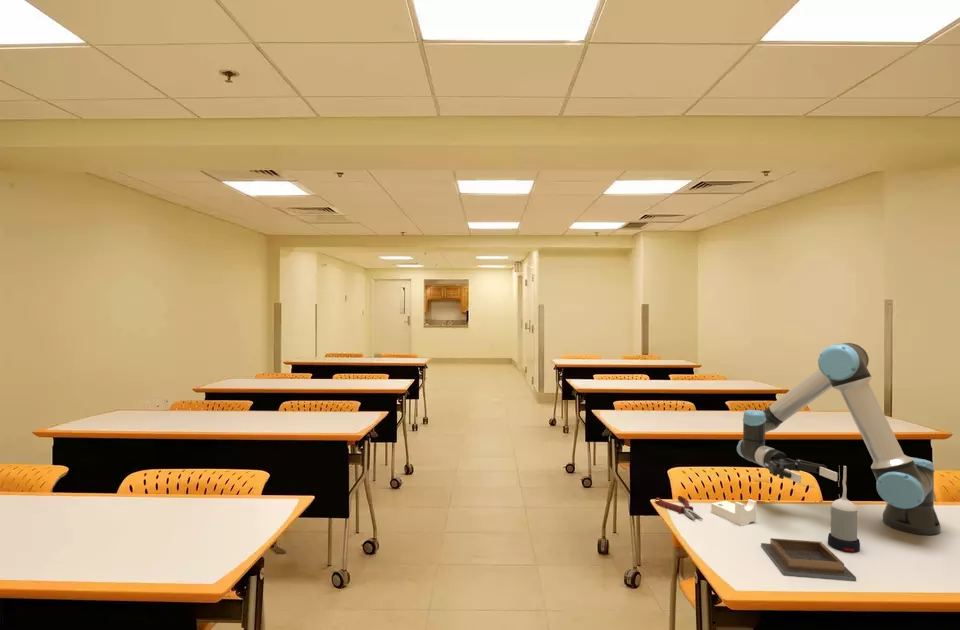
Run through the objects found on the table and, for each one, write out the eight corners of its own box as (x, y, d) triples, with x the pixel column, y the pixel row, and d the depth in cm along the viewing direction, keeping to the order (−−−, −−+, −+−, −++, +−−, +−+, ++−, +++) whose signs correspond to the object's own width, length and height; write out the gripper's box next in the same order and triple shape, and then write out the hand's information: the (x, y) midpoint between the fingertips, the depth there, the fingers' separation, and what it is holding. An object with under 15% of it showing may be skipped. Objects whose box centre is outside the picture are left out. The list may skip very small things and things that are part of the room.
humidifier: (847, 554, 158) (848, 471, 157) (821, 543, 165) (822, 463, 165) (866, 550, 160) (867, 468, 160) (840, 539, 168) (840, 461, 168)
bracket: (756, 523, 181) (756, 501, 181) (741, 526, 179) (741, 504, 178) (725, 510, 193) (726, 489, 193) (711, 513, 191) (711, 492, 190)
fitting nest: (825, 550, 160) (825, 539, 160) (856, 581, 142) (856, 568, 142) (761, 546, 163) (761, 535, 163) (783, 575, 146) (783, 562, 146)
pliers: (683, 524, 181) (684, 516, 181) (653, 503, 201) (653, 496, 201) (713, 521, 183) (713, 514, 183) (681, 501, 203) (681, 494, 203)
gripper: (801, 467, 195) (851, 487, 175) (740, 470, 191) (784, 491, 170) (801, 447, 195) (851, 464, 174) (741, 450, 191) (784, 468, 170)
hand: (818, 478), depth 172 cm, fingers open, 13 cm apart
